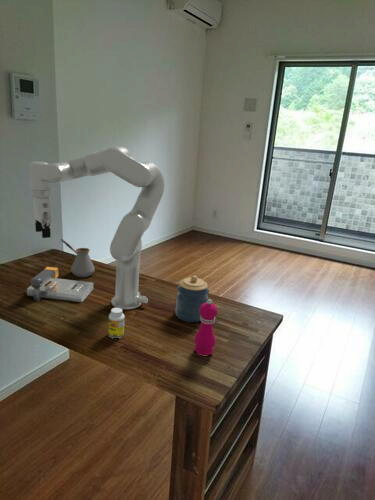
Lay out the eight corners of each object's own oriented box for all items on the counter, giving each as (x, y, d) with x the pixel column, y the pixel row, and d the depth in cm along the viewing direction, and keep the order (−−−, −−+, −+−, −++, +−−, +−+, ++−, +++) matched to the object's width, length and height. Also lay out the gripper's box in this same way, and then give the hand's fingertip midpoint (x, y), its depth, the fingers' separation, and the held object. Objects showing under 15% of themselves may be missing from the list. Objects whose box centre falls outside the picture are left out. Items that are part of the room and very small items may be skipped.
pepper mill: (213, 346, 133) (219, 295, 126) (215, 358, 126) (221, 304, 120) (193, 345, 132) (198, 294, 126) (194, 357, 125) (199, 303, 119)
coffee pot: (99, 274, 187) (100, 245, 182) (82, 280, 177) (82, 251, 173) (70, 263, 197) (69, 236, 192) (52, 269, 187) (51, 240, 183)
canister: (209, 311, 158) (213, 273, 152) (202, 326, 146) (206, 284, 140) (180, 306, 161) (183, 267, 155) (170, 319, 149) (173, 278, 143)
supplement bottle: (104, 335, 134) (105, 309, 131) (117, 329, 138) (117, 304, 135) (114, 341, 130) (115, 315, 127) (127, 335, 134) (128, 310, 131)
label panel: (93, 288, 170) (93, 282, 169) (82, 302, 157) (82, 294, 155) (42, 282, 172) (42, 275, 170) (27, 295, 158) (26, 288, 157)
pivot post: (41, 299, 156) (41, 285, 154) (38, 301, 154) (38, 287, 152) (36, 298, 156) (35, 284, 154) (33, 300, 154) (32, 287, 152)
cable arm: (40, 291, 151) (40, 281, 150) (28, 290, 152) (28, 280, 150) (58, 276, 167) (58, 266, 166) (47, 275, 168) (47, 265, 166)
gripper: (57, 196, 145) (58, 239, 150) (44, 189, 158) (46, 228, 163) (37, 197, 141) (39, 241, 146) (25, 190, 154) (28, 230, 159)
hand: (43, 234), depth 155 cm, fingers open, 9 cm apart
